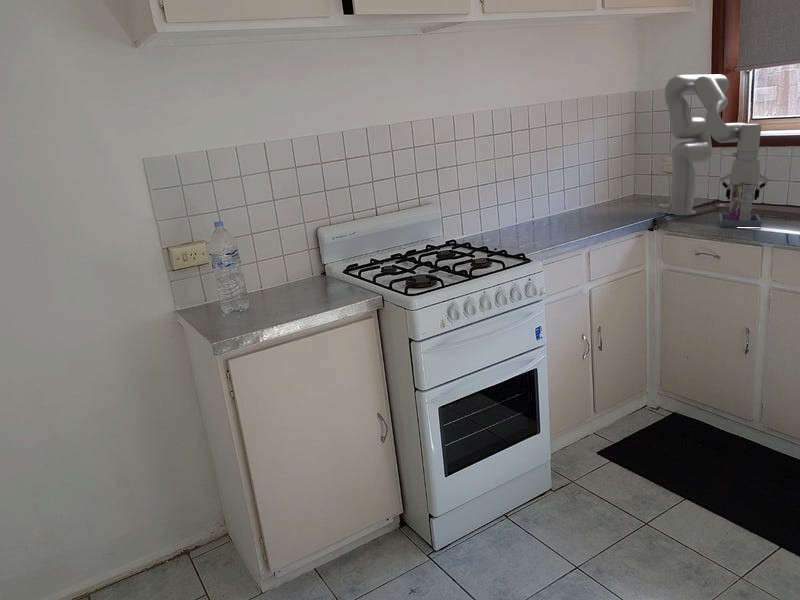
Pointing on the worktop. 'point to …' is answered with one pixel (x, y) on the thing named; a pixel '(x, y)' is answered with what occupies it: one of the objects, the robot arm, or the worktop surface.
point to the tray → (738, 222)
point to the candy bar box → (741, 202)
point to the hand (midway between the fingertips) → (741, 199)
